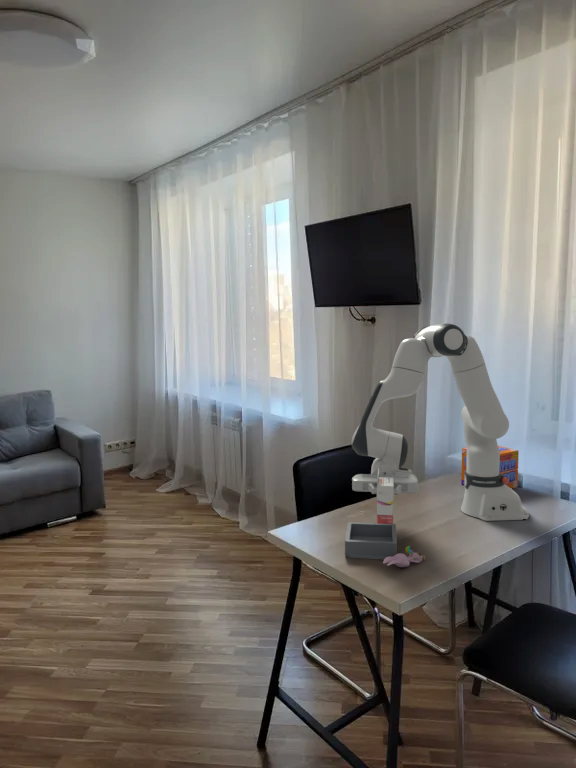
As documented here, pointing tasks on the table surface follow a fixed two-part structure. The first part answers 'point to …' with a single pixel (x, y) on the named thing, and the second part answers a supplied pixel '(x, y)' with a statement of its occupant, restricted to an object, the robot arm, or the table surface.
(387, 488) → the ink cartridge box
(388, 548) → the cartridge bin
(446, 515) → the table surface
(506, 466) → the game box
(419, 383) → the robot arm
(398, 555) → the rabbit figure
